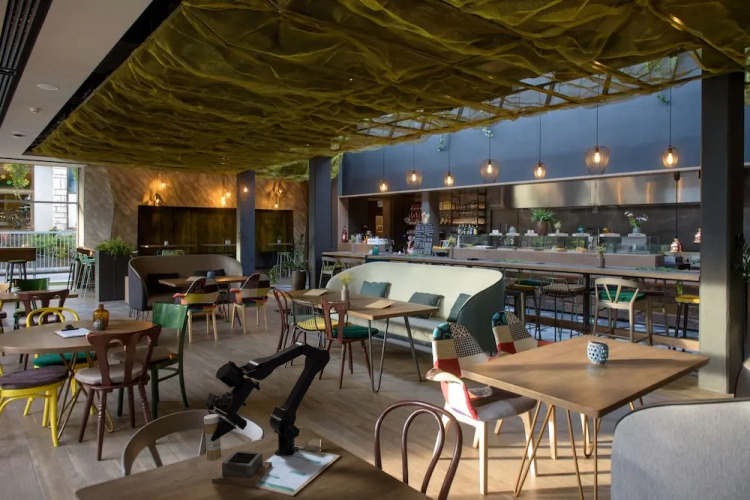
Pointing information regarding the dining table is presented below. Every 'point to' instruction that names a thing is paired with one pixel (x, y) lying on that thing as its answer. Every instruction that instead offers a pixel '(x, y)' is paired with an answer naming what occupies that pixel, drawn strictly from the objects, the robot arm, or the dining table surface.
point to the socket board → (242, 469)
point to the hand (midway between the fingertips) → (208, 438)
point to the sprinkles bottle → (211, 446)
